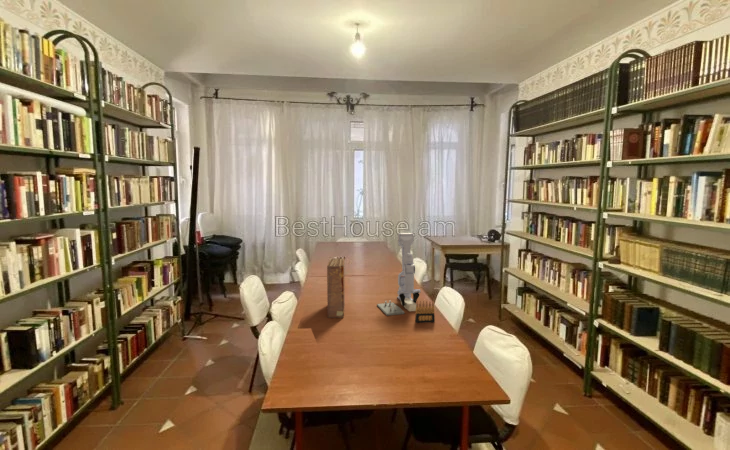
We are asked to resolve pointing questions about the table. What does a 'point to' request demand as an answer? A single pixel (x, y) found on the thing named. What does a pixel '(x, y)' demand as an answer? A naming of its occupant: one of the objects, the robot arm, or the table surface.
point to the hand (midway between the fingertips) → (408, 305)
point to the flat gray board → (390, 308)
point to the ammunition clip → (424, 313)
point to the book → (335, 288)
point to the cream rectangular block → (409, 305)
